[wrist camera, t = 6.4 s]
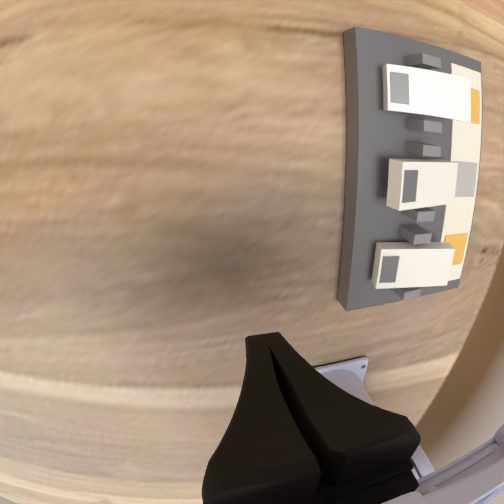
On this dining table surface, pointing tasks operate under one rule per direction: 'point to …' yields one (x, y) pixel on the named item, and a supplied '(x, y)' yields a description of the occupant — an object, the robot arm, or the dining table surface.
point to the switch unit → (401, 147)
